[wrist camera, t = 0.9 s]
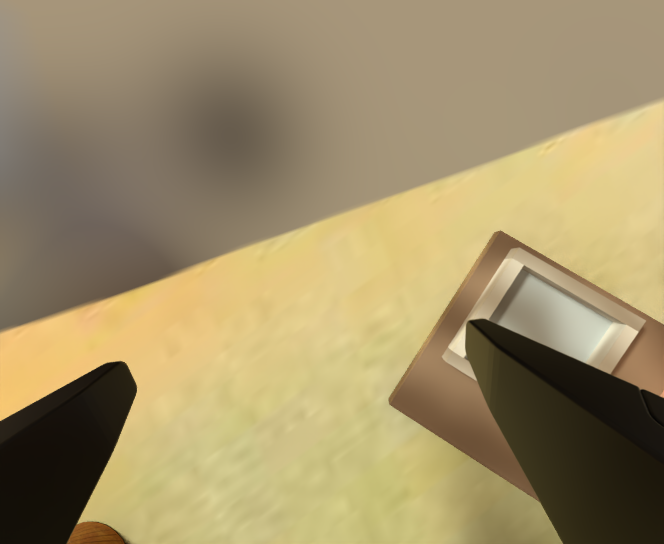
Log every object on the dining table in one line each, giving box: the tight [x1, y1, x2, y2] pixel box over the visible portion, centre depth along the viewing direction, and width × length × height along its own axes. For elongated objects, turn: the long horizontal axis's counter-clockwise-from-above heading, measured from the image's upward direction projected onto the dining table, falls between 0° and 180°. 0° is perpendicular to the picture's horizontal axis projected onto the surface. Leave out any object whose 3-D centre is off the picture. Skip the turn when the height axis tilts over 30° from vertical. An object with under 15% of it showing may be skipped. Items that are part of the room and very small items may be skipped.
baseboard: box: [389, 231, 664, 502], centre depth 21 cm, size 14×21×2 cm, turn 58°
